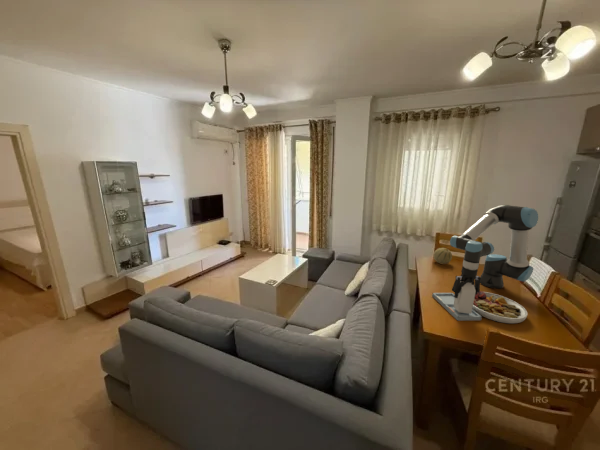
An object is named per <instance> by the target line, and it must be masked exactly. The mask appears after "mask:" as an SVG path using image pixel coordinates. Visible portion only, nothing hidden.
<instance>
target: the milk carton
mask: <svg viewBox="0 0 600 450" xmlns="http://www.w3.org/2000/svg"><path fill="white" fill-rule="evenodd" d="M462 282H464V281H462ZM460 283H461V282H460ZM471 283H472V282H471ZM471 283H466V284H465V285H464V286H463V287H462V289H461V291H460V292H459V293H460V298H459V304H457V303H456V302H455V301H454V305H453V306H454V307H455V309H456V310H457V311H458V312H459V313H469V314H471V312H472V307H473V302H474V297H475V292H476V290H475V287H474V285H475V284H474V285H472V284H471Z"/></svg>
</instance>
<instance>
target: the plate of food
mask: <svg viewBox="0 0 600 450" xmlns="http://www.w3.org/2000/svg"><path fill="white" fill-rule="evenodd" d="M472 309H473V310H474V311H476V312H477V313H478V314H479V315H480V316H482V317H484V318H486V319H489V320H492V321H495V322H497V323H498V322H499V323H504V324H518V323H522V322H524V321H525V320H526V319H527V317H528V311H527V309H526V308H525V306H523V305H522V304H519V302H516V301H514V300H513V299H510V298H508V297H506V296H503V295H499V294H496V293H492V292H489V291H488V292H487V291H482V290H480V292H477V294H475V298H474V302H473V307H472Z"/></svg>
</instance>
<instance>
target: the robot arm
mask: <svg viewBox="0 0 600 450" xmlns="http://www.w3.org/2000/svg"><path fill="white" fill-rule="evenodd" d="M538 221H539V213H538V211H537V210H536V209H535V208H531V207H527V206H517V205H509V204H501V205H497V206H494V207H492V208H489V209H488V210H486V211H485V212H484V213H482V217H480V218H479V219H478V220H477V221H476V222H474V223H473V224H471V226H470V227H469V228H467V229H466V230H465V231H464V232H463V233H461V234H460V235H459V236H458V235H453V236H451V238H450V240H449V245H450V246H451V247H453V248H455V249H459V250H462V251H464V255H463V261H462V266H461V274H460V275H456V276H455V279H454V283H453V285H452V287H451V291H452V293H453V294H454V297H455V300H454V301H455V302H456V303H457V304H459V298H460V293H459V292H460V291H461V289H462V287H463V286H464V285H465V284H466V283H471V282H472V283H471V284H472V285H474V287H475V290H476V292H475V294H477V292H480V291H481V290H480V289H481V285H482V286H484V287H487V288H491V289H498V290H499V289H503V288H504V285H505V283H504V278H503V276H504V277H507V278H510V279H513V280H516V281H519V282H526V281H528V280H529V279H530V277H531V276H532V274H533V271H534V267H533V266H532V265H530V261H529V260H528V259H527V258H528V257H527V256H528V247H529V235H530V234H529V233H530V230H532V229H533V228H534V227H537V224H538ZM498 223H506V224H508V225H507V227H508V228H509V229H510V246H509V247H510V248H509V250H510V251H509V252H510V253H509V258H508V257H507V256H505V255H501V254H496V253H494V252H495V247H494V245H493V244H492V243H491V242H489V241H484V242H481V241H478V240H477V239H478V238H479V237H481V235H482V234H484V233H485V232H486V231H487V230H489V228H491V226H493V225H496V224H498ZM493 253H494V254H493ZM482 257H485V261H484V265H483V271H482V274H481V275H480V276H479V275H478V271H479V270H478V269H479V265H480V261H481V258H482ZM462 281H464V282H462ZM460 282H461V283H460ZM480 283H481V284H480ZM474 298H475V297H474Z"/></svg>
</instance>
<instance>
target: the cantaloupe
mask: <svg viewBox="0 0 600 450" xmlns="http://www.w3.org/2000/svg"><path fill="white" fill-rule="evenodd" d="M433 258H434V260H435V261H436V262H437V264H438V263H439V264H441V265H445V264H446V265H447V264H449V263H451V261H452V259H453V254H452V252H451V251H450V250H449V248H446V247H438V248H437V249H436V250H435V251H434V252H433Z"/></svg>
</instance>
